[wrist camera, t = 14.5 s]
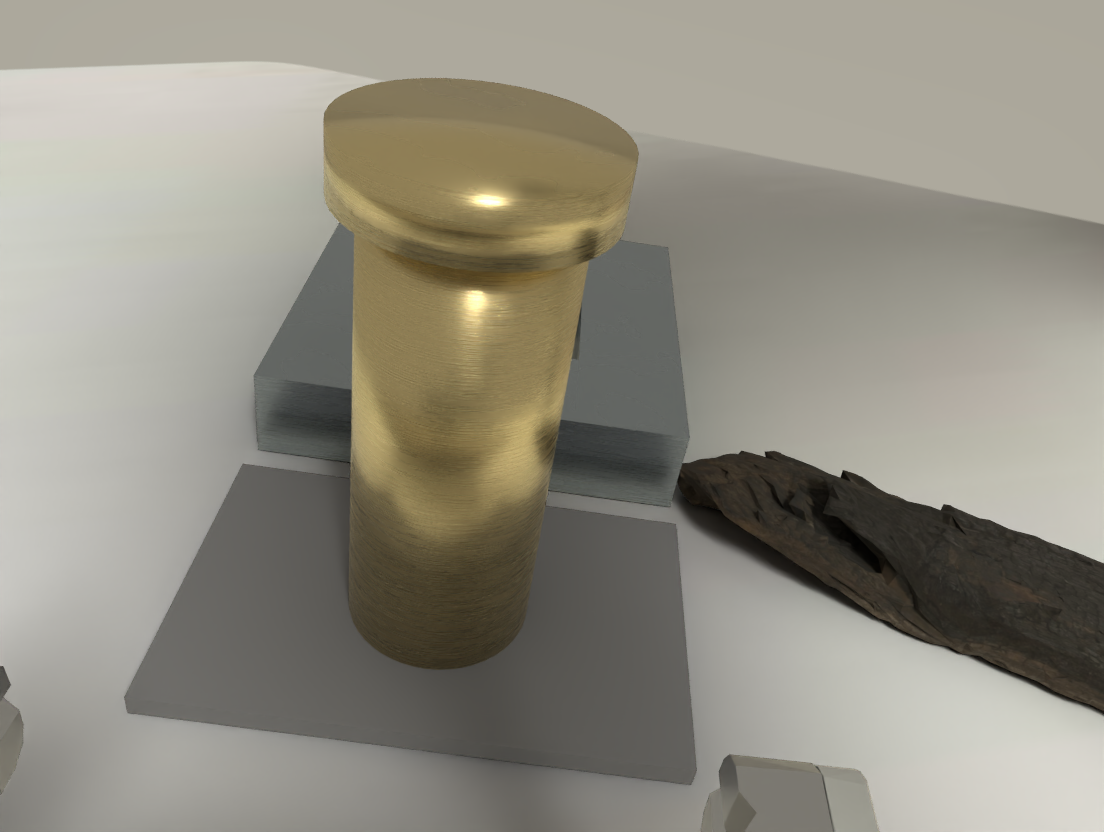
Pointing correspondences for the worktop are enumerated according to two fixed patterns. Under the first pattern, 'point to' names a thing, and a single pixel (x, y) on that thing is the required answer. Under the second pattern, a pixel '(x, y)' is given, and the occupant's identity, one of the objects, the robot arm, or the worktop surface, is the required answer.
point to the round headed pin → (461, 342)
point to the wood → (923, 566)
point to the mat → (416, 693)
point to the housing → (591, 394)
